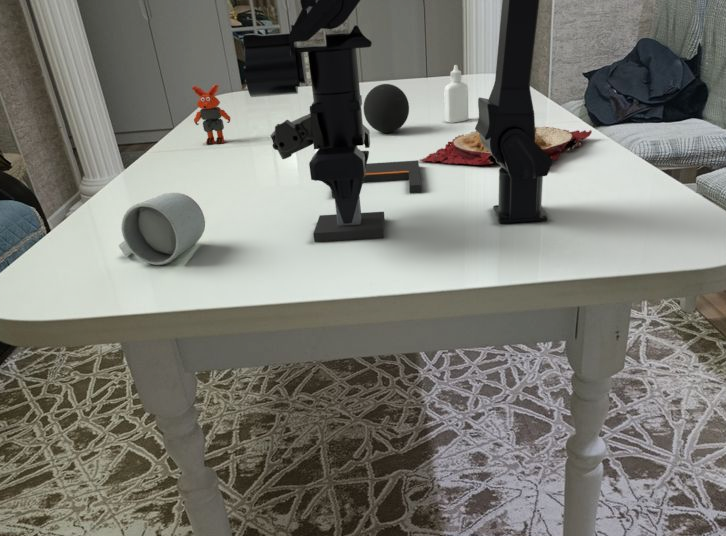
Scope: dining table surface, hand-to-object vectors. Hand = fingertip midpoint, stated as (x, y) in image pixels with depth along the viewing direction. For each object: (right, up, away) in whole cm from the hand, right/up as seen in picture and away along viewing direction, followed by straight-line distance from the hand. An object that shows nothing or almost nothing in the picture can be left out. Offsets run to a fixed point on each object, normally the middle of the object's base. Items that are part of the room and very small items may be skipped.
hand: (349, 215), depth 85 cm
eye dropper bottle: (+20, +35, +64) cm, 76 cm away
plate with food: (+27, +19, +35) cm, 48 cm away
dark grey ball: (+4, +31, +57) cm, 65 cm away
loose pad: (0, -2, +1) cm, 2 cm away
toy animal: (-35, +28, +59) cm, 74 cm away
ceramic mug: (-24, -6, -2) cm, 25 cm away
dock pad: (+3, +10, +22) cm, 24 cm away
